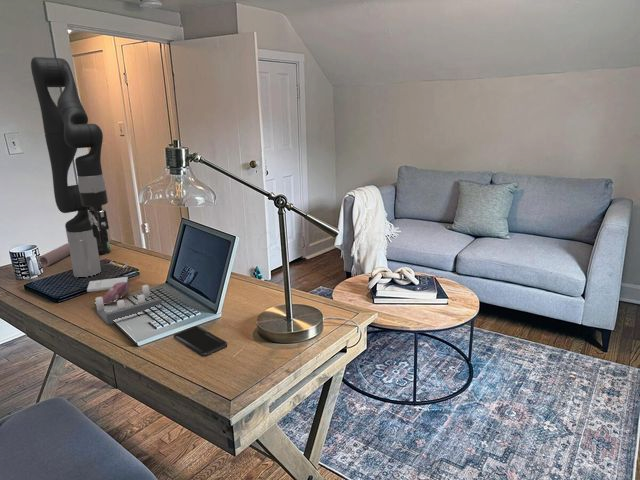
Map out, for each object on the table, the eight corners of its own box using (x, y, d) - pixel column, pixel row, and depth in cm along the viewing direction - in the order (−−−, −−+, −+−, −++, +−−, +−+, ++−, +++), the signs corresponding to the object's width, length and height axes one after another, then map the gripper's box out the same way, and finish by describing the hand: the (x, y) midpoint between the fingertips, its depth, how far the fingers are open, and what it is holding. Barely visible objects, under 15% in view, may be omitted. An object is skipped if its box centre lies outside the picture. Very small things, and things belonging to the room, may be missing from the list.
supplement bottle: (113, 251, 196) (110, 224, 192) (99, 256, 190) (95, 228, 187) (103, 249, 199) (99, 222, 196) (89, 253, 194) (85, 226, 190)
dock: (96, 313, 138) (94, 297, 137) (148, 298, 148) (147, 284, 147) (108, 324, 131) (105, 308, 129) (162, 308, 141) (160, 293, 139)
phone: (202, 355, 113) (171, 335, 123) (203, 359, 114) (172, 338, 123) (229, 343, 119) (197, 325, 129) (229, 346, 119) (197, 328, 129)
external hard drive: (127, 288, 158) (87, 293, 154) (128, 280, 166) (90, 284, 162) (126, 284, 158) (86, 289, 154) (127, 276, 165) (89, 280, 161)
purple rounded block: (109, 310, 143) (116, 293, 141) (97, 303, 144) (103, 286, 141) (128, 298, 153) (134, 281, 150) (116, 291, 153) (122, 274, 150)
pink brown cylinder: (48, 257, 177) (75, 243, 194) (36, 255, 177) (64, 242, 194) (49, 268, 178) (75, 253, 195) (37, 266, 178) (65, 252, 196)
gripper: (74, 188, 146) (83, 237, 150) (85, 193, 135) (94, 246, 139) (99, 186, 150) (107, 233, 155) (111, 190, 140) (119, 241, 144)
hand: (101, 239), depth 147 cm, fingers open, 8 cm apart
